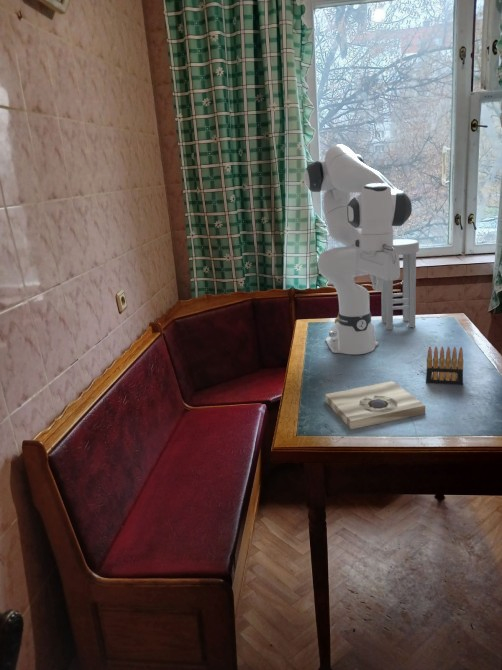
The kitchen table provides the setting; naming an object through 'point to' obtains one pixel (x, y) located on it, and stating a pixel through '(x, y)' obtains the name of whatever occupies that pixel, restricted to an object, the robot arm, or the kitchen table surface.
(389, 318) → the stool
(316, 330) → the kitchen table surface
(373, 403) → the ball
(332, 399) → the board
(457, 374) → the ammunition clip
